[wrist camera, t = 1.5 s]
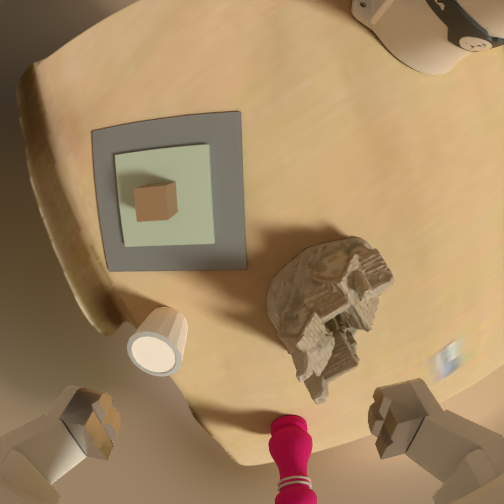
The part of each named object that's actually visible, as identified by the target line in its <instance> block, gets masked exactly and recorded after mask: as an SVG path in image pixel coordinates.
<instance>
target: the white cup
mask: <svg viewBox="0 0 504 504" xmlns="http://www.w3.org/2000/svg"><path fill="white" fill-rule="evenodd" d="M187 331H188V324H187V322H186V320H185V317H184V316H183V315H182V314H181V313H180V312H179V311H177V310H175V309H173V308H170V307H159V308H156V309H154V310H153V311H152V312H151V313H150V314H149V315H148V317H147V318H146V319H145V320H144V321H143V323H142V324H141V325H140V326H139V327H138V329H137V330H136V331H135V332H134V333H133V335H132V336H131V337H130V339H129V341H128V344H127V350H128V355H129V357H130V358H131V360H132V362H133V363H134V364H135V365H136V366H137V367H138V368H140V369H141V370H142V371H144V372H146V373H149V374H150V375H155V376H161V377H162V376H170V375H172V374H174V373H175V372H177V371H178V370H179V368H180V366H181V364H182V359H183V353H184V348H185V342H186V337H187Z"/></svg>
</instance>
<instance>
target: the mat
mask: <svg viewBox="0 0 504 504" xmlns="http://www.w3.org/2000/svg"><path fill="white" fill-rule="evenodd" d="M92 139H93V158H94V172H95V183H96V193H97V202H98V210H99V218H100V225H101V231H102V238H103V244H104V249H105V255H106V260H107V265H108V270H109V272H121V271H200V270H245V269H247V260H246V236H245V210H244V184H243V157H242V129H241V112H224V113H210V114H198V115H188V116H179V117H171V118H163V119H156V120H149V121H143V122H137V123H131V124H125V125H120V126H115V127H110V128H105V129H100V130H96V131H92ZM206 144H209V145H210V168H211V187H212V204H213V220H214V235H215V243H214V244H192V245H163V246H136V247H125V243H124V237H123V230H122V223H121V215H120V206H119V197H118V187H117V176H116V163H115V155H119V154H125V153H132V152H139V151H147V150H155V149H163V148H172V147H182V146H193V145H206Z"/></svg>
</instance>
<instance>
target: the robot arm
mask: <svg viewBox="0 0 504 504" xmlns="http://www.w3.org/2000/svg"><path fill="white" fill-rule="evenodd" d="M360 4H362V5H364V7H362V6H361V5H360ZM351 11H352V14H353V16H354V17H355V18H356V19H357V20H358V21H360V22H361V23H362V24H364V25H365V26H367V27H368V28H370V29H371V30H372V31H373V32H374V33H375V34H376V35H377V36H378V38H379V39H380V40H381V42H382V43H383V44H384V45H385V47H386V48H387V49H388V50H389V51H390V52H391V53H392V54H393V55H394V56H395V57H397V58H398V59H399V60H400V61H402V62H403V63H405V64H406V65H408V66H409V67H411V68H413V69H415V70H417V71H419V72H422V73H426V74H430V75H441V74H445V73H447V72H449V71H451V70H452V69H453V68H454V67H455V66H456V65H457V64H458V63H459V62H460V61H461V60H462V59H464V58H465V57H466V56H468V55H470V54H471V53H473V52H478V51H483V50H488V49H491V48H495V47H498V46H501V45H504V0H352V9H351ZM373 398H374V401H375V402H374V403H373V404H372V405H371V406H370V408H369V412H368V424H369V428H370V431H371V433H372V434H373V435H375V436H376V437H378V438H377V441H376V443H375V445H376V447H377V450H378V453H379V455H380V458H381V459H385V458H389V457H393V456H397V455H401V454H405V453H406V455H407V456H408V457H409V458H411V459H412V460H413V461H415V462H416V463H417V464H419V465H420V466H421V467H423V468H424V469H425V470H427V471H428V472H429V473H431V474H432V475H433V476H435V477H436V478H437V479H439V480H440V481H442V482H443V483H444V484H443V485H442V486H441V487H440V488H439V489H438V490H437V491H436V493H435V494H434V496H433V499H434V502H435V504H504V438H503V436H502V435H500V434H498V433H496V432H493V431H491V430H489V429H487V428H485V427H482V426H480V425H478V424H476V423H474V422H472V421H470V420H467V419H465V418H463V417H461V416H459V415H457V414H455V413H453V412H451V411H449V410H445V411H443V410H442V408H441V406H440V405H439V403H438V402H437V400H436V399H435V397H434V396H433V394H432V393H431V391H430V390H429V388H428V387H427V385H426V384H425V382H424V381H423V379H421V378H417V379H413V380H409V381H406V382H401V383H396V384H392V385H387V386H382V387H377V388H376V389H375V391H374V394H373ZM112 402H113V400H112V398H111V396H110V394H108V393H106V392H100V391H95V390H91V389H86V388H80V387H75V386H71V385H70V386H68V387H66V388H65V389H64V391H63V392H62V394H61V395H60V397H59V398H58V400H57V401H56V402H55V404H54V405H53V407H52V408H51V410H50V412H49V413H48V414H47V416H46V415H42V416H40V417H38V418H36V419H34V420H32V421H30V422H28V423H26V424H24V425H22V426H21V427H18V428H16V429H14V430H12V431H10V432H8V433H6V434H4V435H2V436H0V504H58V502H59V500H60V498H61V495H60V493H59V492H58V491H57V490H56V489H55V488H54V487H53V486H52V485H51V484H52V483H54V482H55V481H56V480H58V479H59V478H60V477H61V476H63V475H64V474H65V473H67V472H68V471H69V470H70V469H72V468H73V467H74V466H75V465H77V464H78V463H79V462H80V461H82V460H83V459H84V458H85V457H86V456H90V457H94V458H98V459H103V460H108V458H109V456H110V454H111V451H112V449H113V447H114V445H113V443H112V440H113V439H114V438H116V437H117V436H118V434H119V432H120V427H121V419H120V415H119V413H118V411H117V410H116V409H115V408H114V407H113V406H112V405H111V404H112Z"/></svg>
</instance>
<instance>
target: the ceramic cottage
mask: <svg viewBox="0 0 504 504" xmlns="http://www.w3.org/2000/svg"><path fill="white" fill-rule="evenodd" d="M393 282H395V281H394V277H393V275H392V272H391V270H390V269H389V268H388V266H387V265H386V263H385V261H384V260H383V258H382V256H381V255H380V253H379V251H378V250H377V249H372V248H371V246H370V245H369V243H368V242H367V241H365V240H363V239H361V238H359V237H358V238H357V237H353V238H347V239H342V240H336V241H333V242H327V243H322V244H317V245H315V246H311V247H309V248H306V249H305V250H303V251H302V252H301V253H299V254H298V255H296V257H295V258H294V259H292V261H290V262H289V263H288V264H286V265H285V266H284V267H283V268H282V269H281V270H280V271H279V273H277V275H275V276H274V278H273V279H272V281H271V283H270V285H269V288H268V293H267V300H266V307H267V313H268V316H269V320H270V321H271V322H272V324H273V326H274V327H275V328H276V329H277V330H278V332H277V333H276V335H277V336H278V338H279V339H280V341H281V342H282V343H283V344H284V345H285V347H286V348H287V351H288V353H289V354H291V355H292V358H293V362H294V365H295V367H296V369H297V372H296V377H297V378H298V380H299V382H302V381H304V383H305V385H306V387H307V389H308V391H309V392H310V395H311V397H312V399H313V400H314V402H315V403H316V404H321V403H323V402H325V401H326V400H327V399H328V397H329V394H328V384H329V383H330V382H331V381H333V380H335V379H336V378H338V377H340V376H341V375H342V374H344V373H346V372H349V371H351V370H353V369H354V368H356V367H358V364H359V363H358V362H359V360H360V359H359V358H358V356H357V355H356V349H357V343H356V341H355V340H354V337H355V334H356V331H357V329H360V330H363V329H364V330H365V331H367V332H368V331H370V330H372V327H371V326H372V325H373V321H374V318H375V316H374V315H375V312H376V310H377V306H378V303H379V299H378V298H379V296H380V295H381V293H382V292H384V291H385V290H387V289H388V288H389V287H390V286H392V285H393Z"/></svg>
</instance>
